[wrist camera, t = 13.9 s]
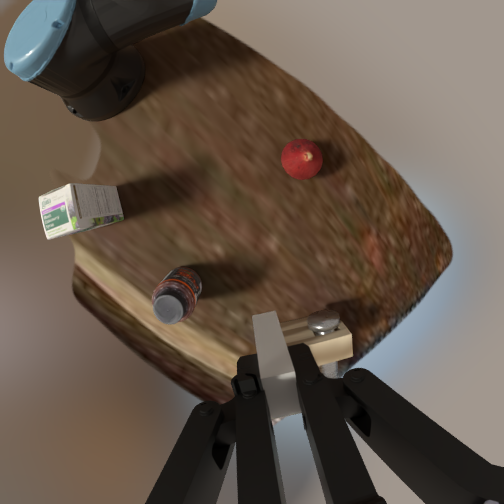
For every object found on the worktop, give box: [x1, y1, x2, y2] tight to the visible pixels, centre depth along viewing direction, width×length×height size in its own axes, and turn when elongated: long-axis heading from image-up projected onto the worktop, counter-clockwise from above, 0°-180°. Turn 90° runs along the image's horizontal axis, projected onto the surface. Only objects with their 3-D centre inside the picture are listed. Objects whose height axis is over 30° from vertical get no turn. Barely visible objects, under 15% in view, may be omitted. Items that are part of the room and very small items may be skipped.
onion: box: [281, 139, 323, 180], centre depth 38 cm, size 6×6×8 cm
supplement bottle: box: [152, 267, 202, 324], centre depth 40 cm, size 6×6×11 cm
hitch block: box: [280, 317, 353, 366], centre depth 43 cm, size 4×12×9 cm, turn 102°
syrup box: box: [39, 183, 124, 240], centre depth 35 cm, size 6×6×14 cm
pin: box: [307, 310, 340, 378], centre depth 43 cm, size 13×5×5 cm, turn 12°
